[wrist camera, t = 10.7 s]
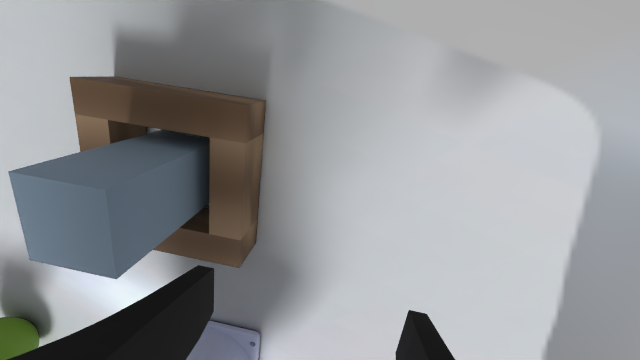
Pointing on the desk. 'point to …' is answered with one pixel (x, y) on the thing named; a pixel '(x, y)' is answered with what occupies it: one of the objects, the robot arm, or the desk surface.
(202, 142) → the slate-blue peg
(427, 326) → the robot arm
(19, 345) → the snail figurine
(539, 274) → the desk surface
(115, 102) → the walnut collar
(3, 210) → the desk surface
